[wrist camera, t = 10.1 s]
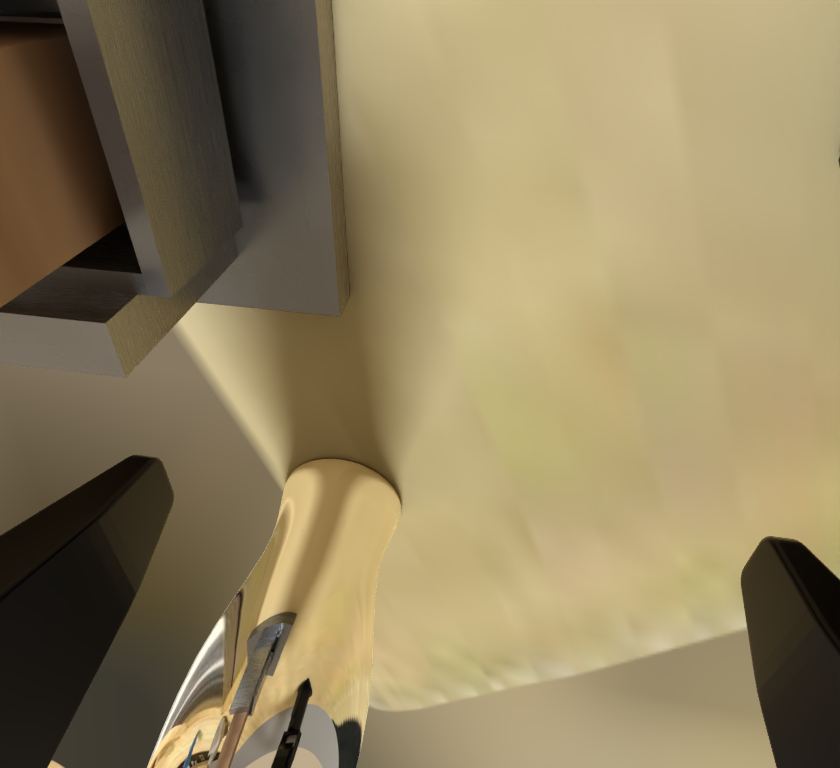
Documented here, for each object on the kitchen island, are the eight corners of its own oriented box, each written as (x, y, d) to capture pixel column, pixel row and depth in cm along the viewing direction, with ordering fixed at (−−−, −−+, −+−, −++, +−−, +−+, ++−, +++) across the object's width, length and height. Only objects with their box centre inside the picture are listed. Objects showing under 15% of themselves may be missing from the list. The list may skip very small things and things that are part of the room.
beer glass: (428, 535, 30) (364, 914, 18) (314, 546, 32) (191, 891, 20) (380, 441, 26) (261, 841, 14) (254, 461, 28) (62, 823, 17)
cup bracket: (323, -124, 14) (145, -183, 8) (349, 296, 22) (271, 451, 15) (-101, -130, 15) (-571, -185, 9) (61, 268, 23) (-129, 401, 16)
